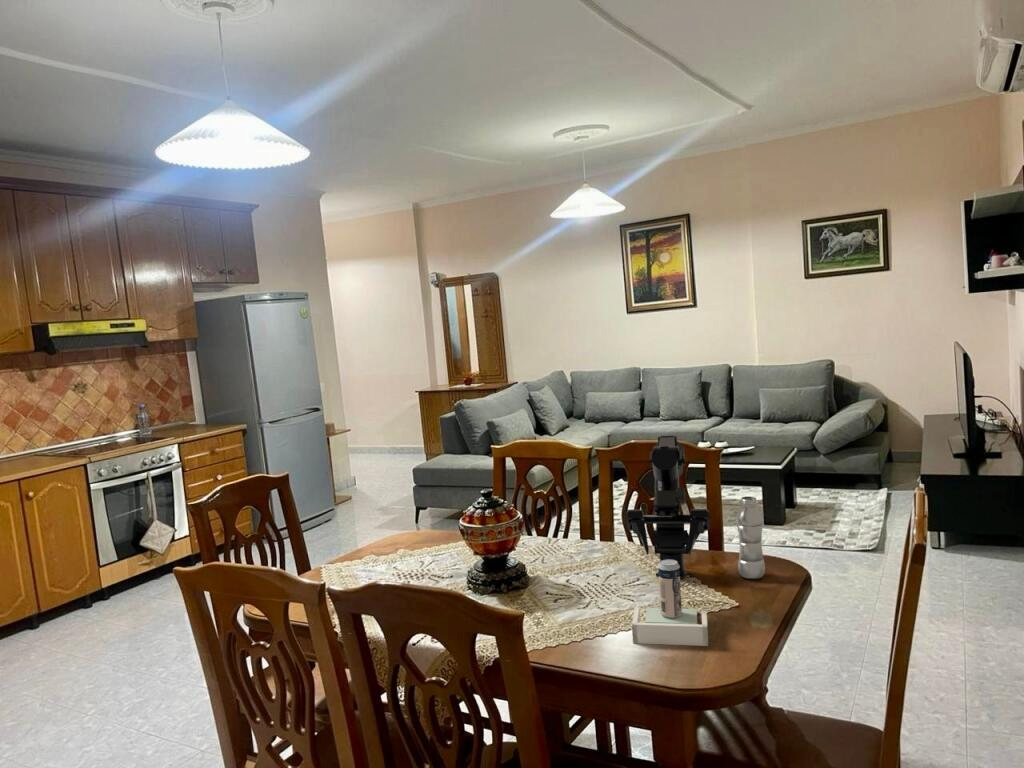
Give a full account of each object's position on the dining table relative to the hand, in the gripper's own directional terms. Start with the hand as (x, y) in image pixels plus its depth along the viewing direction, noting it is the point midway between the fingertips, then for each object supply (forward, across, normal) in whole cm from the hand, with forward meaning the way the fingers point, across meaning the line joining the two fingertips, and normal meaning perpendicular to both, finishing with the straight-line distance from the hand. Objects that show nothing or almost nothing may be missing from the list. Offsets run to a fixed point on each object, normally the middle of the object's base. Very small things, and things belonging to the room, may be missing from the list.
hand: (668, 553), depth 164 cm
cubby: (+18, 0, +1) cm, 18 cm away
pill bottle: (+12, 0, +7) cm, 13 cm away
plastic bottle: (-6, +19, +26) cm, 32 cm away
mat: (+12, 0, +7) cm, 14 cm away
